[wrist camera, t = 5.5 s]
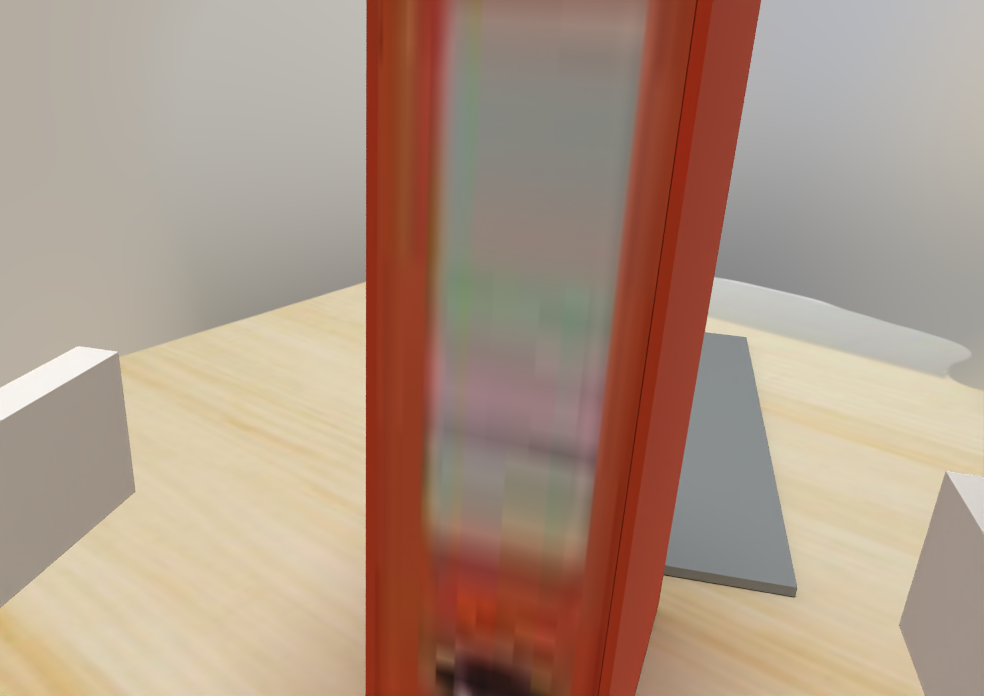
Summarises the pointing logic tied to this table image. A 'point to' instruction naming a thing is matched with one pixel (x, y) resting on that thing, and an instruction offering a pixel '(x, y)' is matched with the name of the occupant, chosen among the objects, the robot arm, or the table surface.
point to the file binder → (535, 327)
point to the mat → (728, 482)
